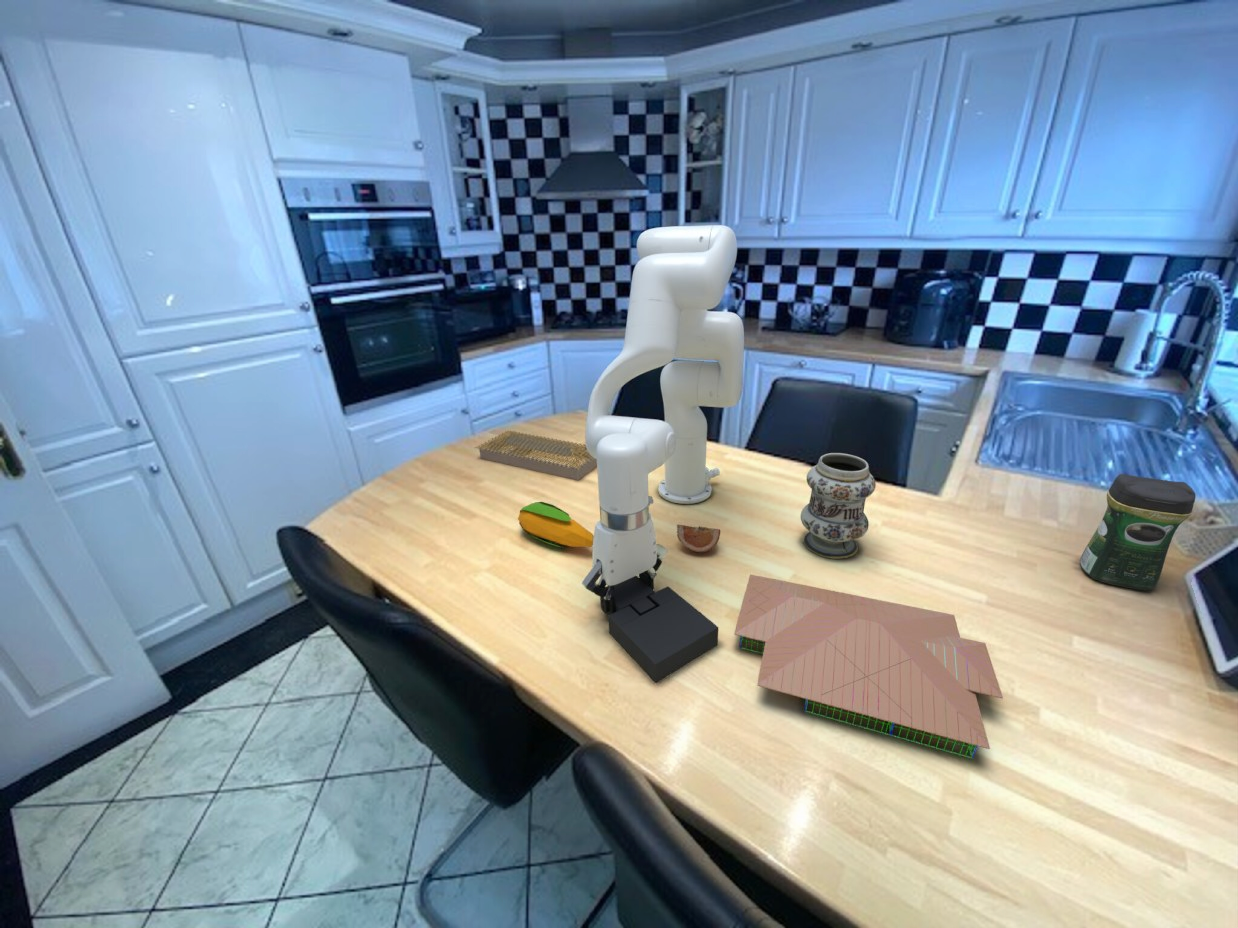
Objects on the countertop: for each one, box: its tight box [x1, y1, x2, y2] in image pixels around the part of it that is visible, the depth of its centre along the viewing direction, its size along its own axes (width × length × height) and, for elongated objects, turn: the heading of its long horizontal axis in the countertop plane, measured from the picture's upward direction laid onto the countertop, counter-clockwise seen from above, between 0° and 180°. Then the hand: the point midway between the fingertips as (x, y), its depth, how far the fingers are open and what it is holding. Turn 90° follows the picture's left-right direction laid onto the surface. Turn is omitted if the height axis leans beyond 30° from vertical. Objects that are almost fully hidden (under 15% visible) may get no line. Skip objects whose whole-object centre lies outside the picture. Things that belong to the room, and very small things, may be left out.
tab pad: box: [605, 575, 656, 616], centre depth 84 cm, size 7×9×4 cm
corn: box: [517, 501, 594, 549], centre depth 103 cm, size 7×8×20 cm
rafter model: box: [474, 430, 597, 481], centre depth 140 cm, size 35×14×6 cm, turn 61°
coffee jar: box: [1079, 473, 1196, 591], centre depth 84 cm, size 10×8×19 cm
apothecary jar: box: [800, 452, 877, 560], centre depth 96 cm, size 12×12×18 cm
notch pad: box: [607, 585, 719, 683], centre depth 78 cm, size 12×12×4 cm
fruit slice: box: [676, 524, 721, 553], centre depth 99 cm, size 8×7×5 cm
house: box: [733, 573, 1004, 759], centre depth 71 cm, size 23×33×8 cm
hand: (628, 602), depth 85 cm, fingers closed on tab pad, 7 cm apart
